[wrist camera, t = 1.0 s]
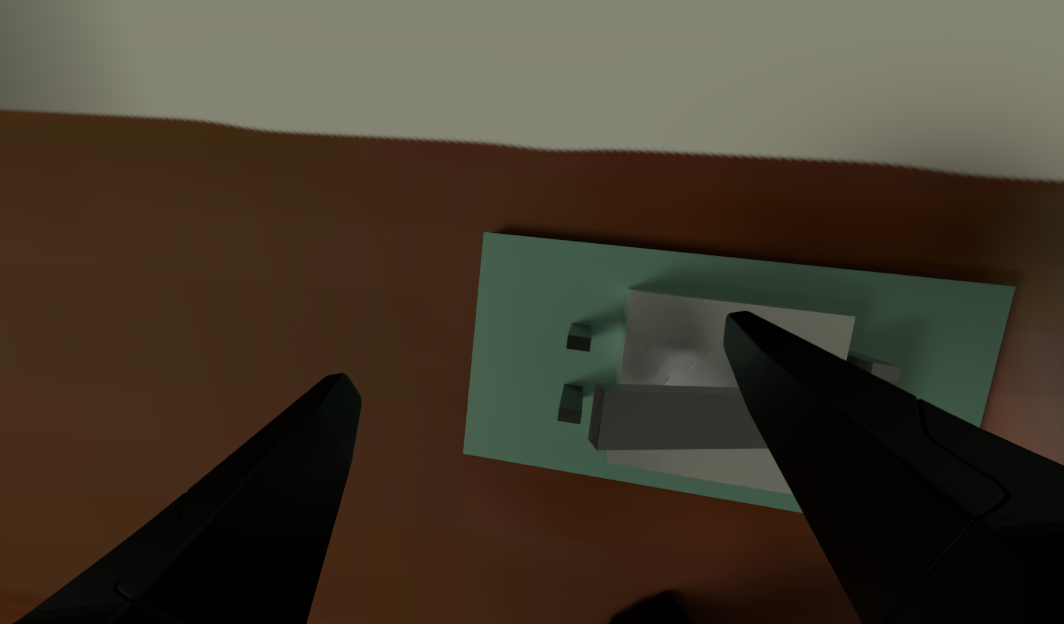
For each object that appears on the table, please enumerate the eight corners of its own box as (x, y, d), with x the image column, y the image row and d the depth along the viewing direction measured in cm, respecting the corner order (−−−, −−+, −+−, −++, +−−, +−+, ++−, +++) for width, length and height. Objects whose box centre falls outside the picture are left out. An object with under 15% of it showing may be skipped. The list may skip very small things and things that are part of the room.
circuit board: (989, 285, 19) (1015, 286, 18) (930, 523, 20) (951, 538, 19) (489, 233, 22) (483, 232, 21) (469, 444, 24) (463, 453, 22)
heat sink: (857, 314, 19) (919, 325, 15) (823, 477, 20) (874, 522, 16) (576, 282, 20) (573, 285, 17) (558, 433, 21) (551, 466, 18)
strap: (875, 382, 17) (902, 390, 16) (861, 446, 17) (886, 458, 16) (595, 370, 14) (607, 379, 13) (585, 449, 14) (596, 463, 13)
